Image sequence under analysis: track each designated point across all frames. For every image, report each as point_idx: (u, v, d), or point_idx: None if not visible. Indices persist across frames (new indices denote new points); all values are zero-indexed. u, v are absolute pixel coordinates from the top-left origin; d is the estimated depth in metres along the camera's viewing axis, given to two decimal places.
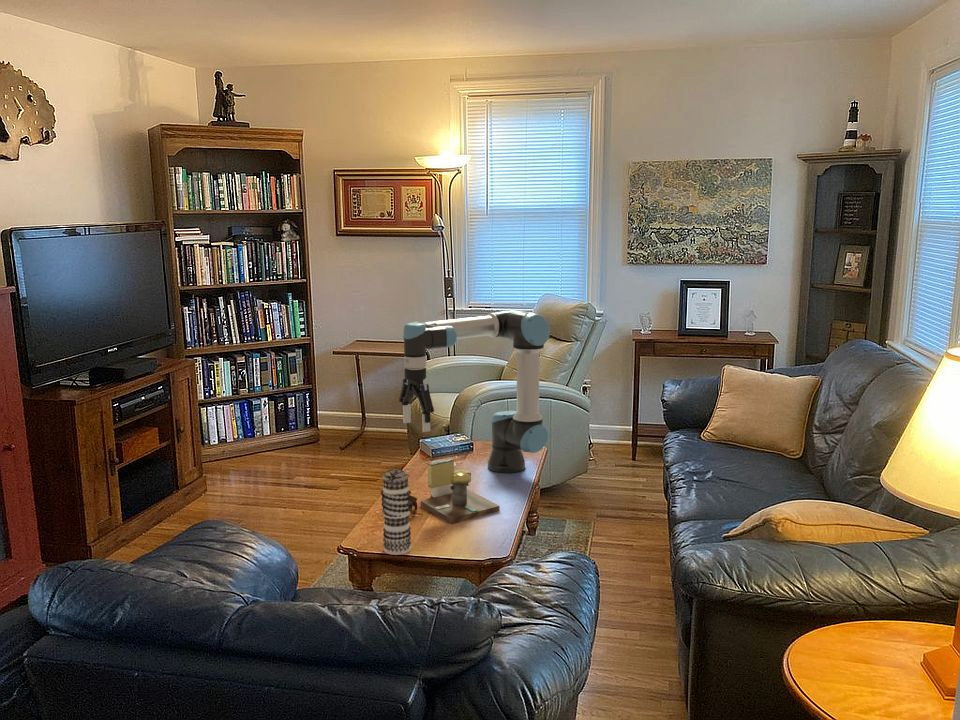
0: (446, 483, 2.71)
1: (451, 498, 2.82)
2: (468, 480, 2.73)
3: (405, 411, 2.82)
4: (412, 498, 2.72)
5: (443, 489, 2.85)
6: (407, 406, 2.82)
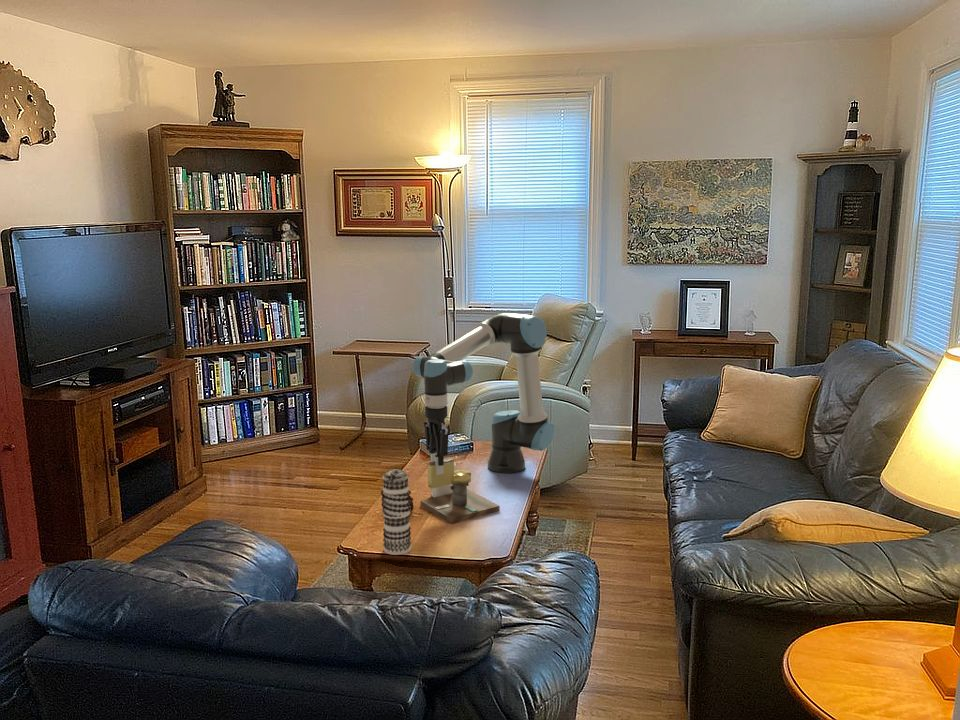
0: (446, 483, 2.71)
1: (451, 498, 2.82)
2: (468, 480, 2.73)
3: (433, 460, 2.69)
4: None
5: (443, 489, 2.85)
6: (435, 454, 2.70)
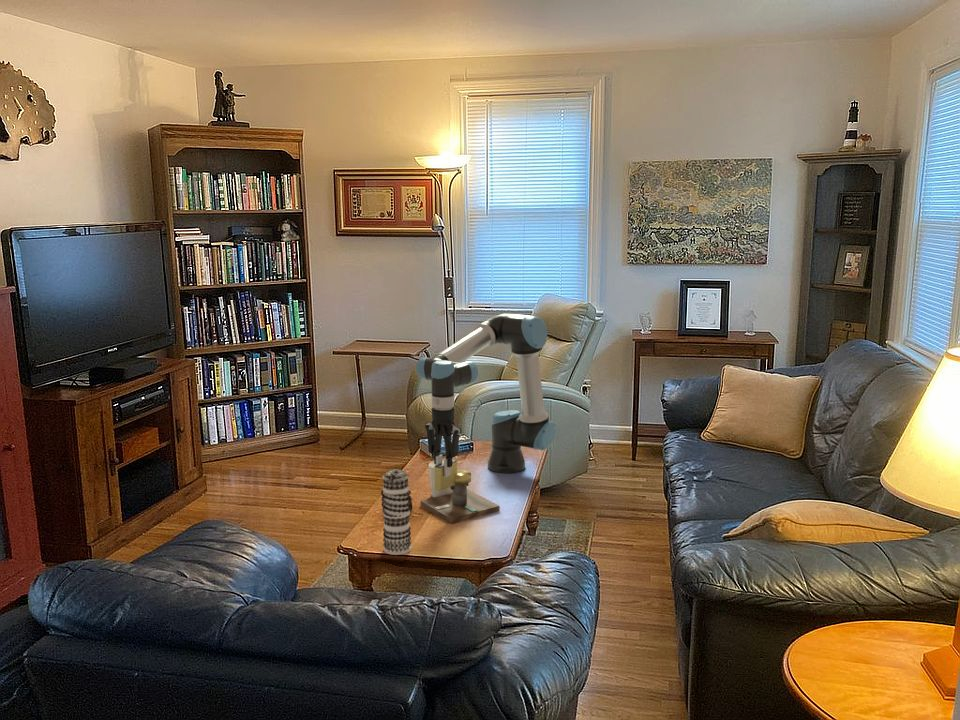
0: (451, 484, 2.70)
1: (451, 498, 2.82)
2: (470, 479, 2.74)
3: (438, 462, 2.67)
4: None
5: None
6: (440, 457, 2.67)
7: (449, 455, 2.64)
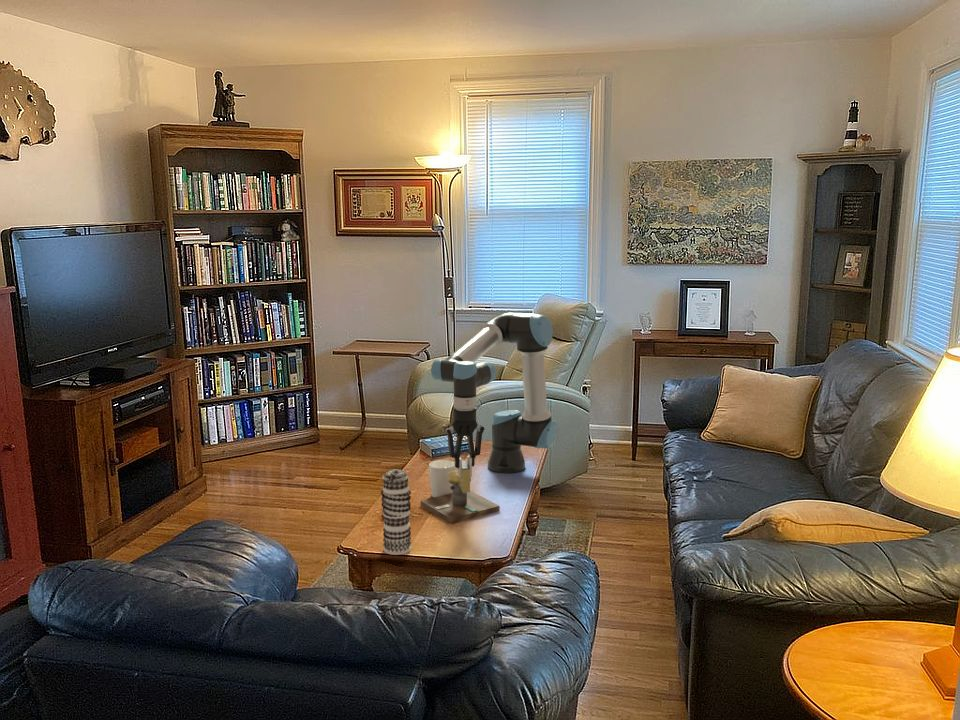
0: None
1: (451, 498, 2.82)
2: None
3: None
4: None
5: (443, 489, 2.86)
6: None
7: (474, 454, 2.65)
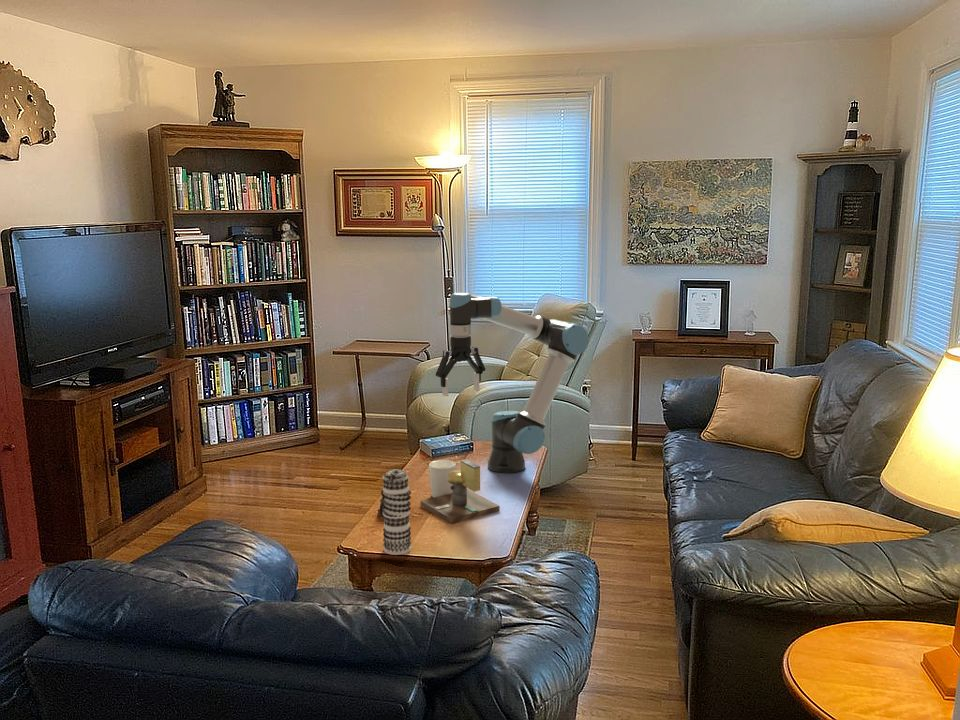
0: None
1: (451, 498, 2.82)
2: None
3: None
4: None
5: (443, 489, 2.86)
6: None
7: (480, 369, 2.93)
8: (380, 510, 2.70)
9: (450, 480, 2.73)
